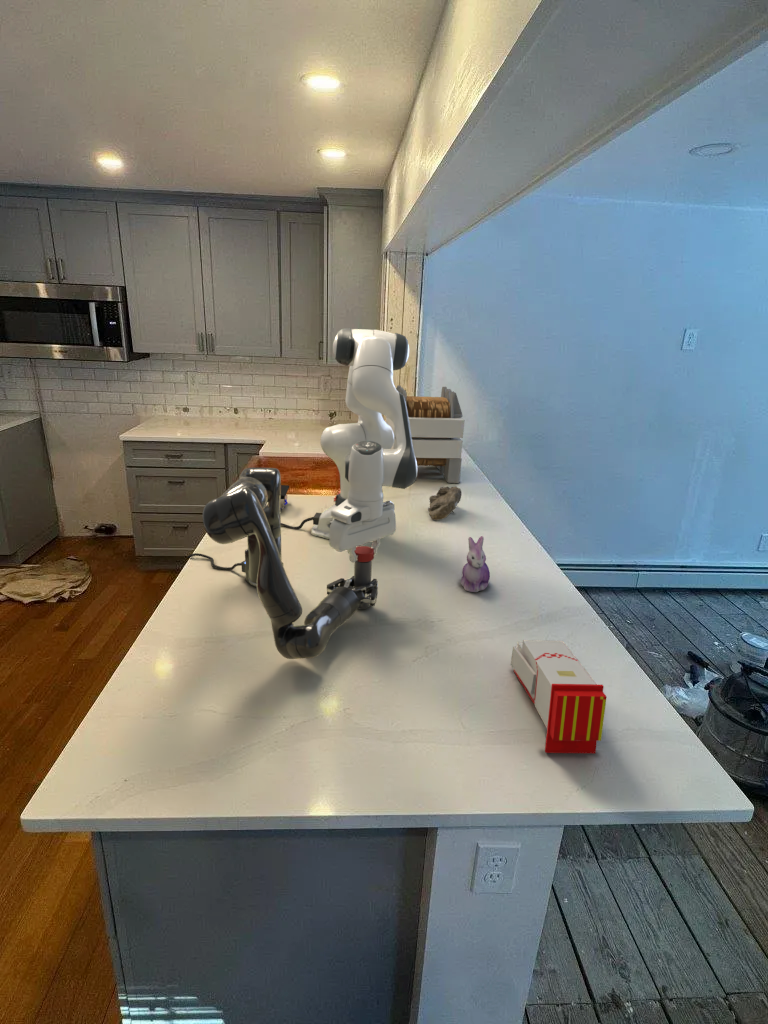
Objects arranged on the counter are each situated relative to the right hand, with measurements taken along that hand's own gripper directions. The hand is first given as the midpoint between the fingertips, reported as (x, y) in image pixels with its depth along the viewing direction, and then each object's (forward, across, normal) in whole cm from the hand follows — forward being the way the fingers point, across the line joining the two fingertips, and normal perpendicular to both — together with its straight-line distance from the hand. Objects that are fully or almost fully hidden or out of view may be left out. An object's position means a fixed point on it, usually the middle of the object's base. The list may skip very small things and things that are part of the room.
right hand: (363, 557), depth 146 cm
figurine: (+14, -33, +13) cm, 38 cm away
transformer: (+14, -109, -77) cm, 134 cm away
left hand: (+8, -2, -1) cm, 8 cm away
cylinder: (+14, 0, 0) cm, 14 cm away
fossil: (+14, -74, -34) cm, 83 cm away
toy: (+14, -1, +55) cm, 57 cm away
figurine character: (+14, -27, -77) cm, 83 cm away
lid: (-2, 0, 0) cm, 2 cm away
